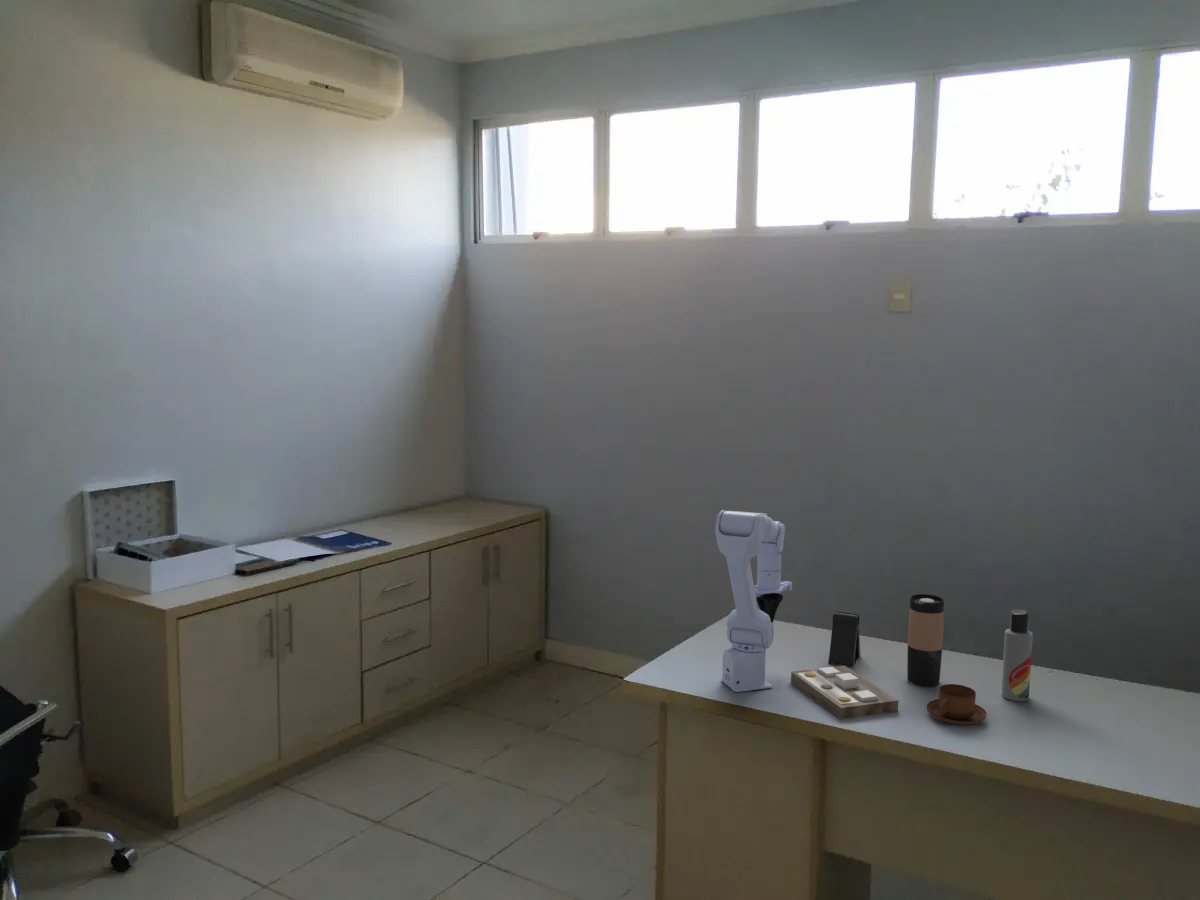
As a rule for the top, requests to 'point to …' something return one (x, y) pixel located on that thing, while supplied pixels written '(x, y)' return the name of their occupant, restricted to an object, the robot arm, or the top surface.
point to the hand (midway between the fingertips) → (767, 622)
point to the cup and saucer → (956, 705)
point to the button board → (843, 694)
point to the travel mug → (925, 639)
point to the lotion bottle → (1017, 657)
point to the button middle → (846, 681)
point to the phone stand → (845, 639)
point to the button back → (828, 671)
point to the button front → (865, 696)
